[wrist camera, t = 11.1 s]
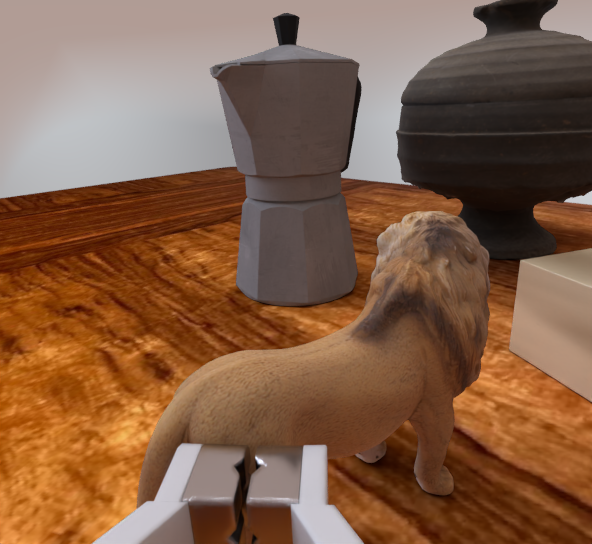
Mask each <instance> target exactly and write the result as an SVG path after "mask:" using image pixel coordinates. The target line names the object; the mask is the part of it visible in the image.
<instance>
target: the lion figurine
mask: <svg viewBox="0 0 592 544" xmlns="http://www.w3.org/2000/svg"><path fill="white" fill-rule="evenodd" d="M377 246H378V249H379V255H378V257H377V263H376V268H375V270H374V271H373V273H372V275H371V286H370V290H369V292H368V295H367V298H366V303H365V308H364V309H363V311H362V313H361V314H360V315H359V316H358V318H357V319H356V320H355V321H353V322H352V323H350V324H349V325H347V326H346V327H344V328H342V329H340V330H338V331H336V332H334V333H332V334H330V335H328V336H325V337H323V338H321V339H319V340H316V341H313V342H310V343H307V344H304V345H300V346H297V347H293V348H287V349H278V350H246V351H239V352H235V353H232V354H228V355H225V356H222V357H219V358H217V359H215V360H213V361H211V362H209V363H207V364H206V365H204V366H203V367H201V368H200V369H198V370H197V371H195V372H194V373H193V374H191V375H190V376H189V377H188V378H187V379H186V380H185V381H184V382H183V383H182V384H181V385H180V386H179V388H178V389H177V391H176V392H175V395H174V398H173V400H172V401H171V403H170V404H169V405H168V407H167V408H166V409H165V411H164V413H163V414H162V416H161V418H160V419H159V421H158V423H157V425H156V428H155V430H154V432H153V435H152V437H151V439H150V442H149V445H148V448H147V451H146V455H145V458H144V462H143V466H142V470H141V476H140V481H139V487H138V497H137V508H139V507H140V506H141V505H143V504H144V503H145V502H147V501H154V500H155V497H156V495H157V493H158V491H159V488H160V486H161V484H162V482H163V479H164V477H165V475H166V472H167V470H168V468H169V466H170V463H171V461H172V459H173V457H174V454H175V452H176V450H177V448H178V447H179V446H180V445H181V444H182V443H188V444H229V445H248V446H249V448H250V456H251V462H250V467H249V473H250V474H251V475H252V474H253V473H254V472H255V471H256V463H255V456H256V451H257V447H258V446H259V445H290V446H304V445H326V446H327V459H336V458H341V457H349V456H352V455H356V456H357V457H358V458H360V459H361V460H363V461H365V462H367V463H373V462H376V461H377V460H379V459H381V458H382V457H383V456H384V454H385V452H386V443H385V441H384V440H385V439H386V438H387V437H389V436H390V435H391V434H392V433H393V432H394V431H396V430H397V429H398V428H399V427H400V426H401V425H402V424H403V423H404V422H405V421H406V420H409V421H410V422H411V424H412V426H413V428H414V429H415V431H416V432H417V436H418V452H417V457H416V460H415V464H414V474H415V477H416V479H417V481H418V483H419V485H420V486H421V488H422V489H423V490H424V491H426V492H428V493H432V494H437V495H447V494H450V493H451V492H452V491H453V489H454V484H453V477H452V475H451V474H450V473H449V471H448V469H447V468H446V467H445V466H443V465H442V464H443V461H444V459H445V456H446V452H447V447H448V444H449V441H450V438H451V436H452V432H453V427H454V410H453V398H455V397H456V396H458V395H459V394H461V393H462V392H463V391H464V390H465V388H466V387H469V386H470V385H471V384H472V383H473V382H474V381H476V380H477V379H478V376H479V373H480V369H481V360H480V359H481V357H482V356H483V351H484V347H485V345H486V340H487V336H488V321H489V315H490V312H489V308H488V304H487V297H488V295H489V292H490V281H489V277H488V264H489V253H488V251H487V250H486V249H485V248H484V247H483V246H481V245H480V243H479V240H478V238H477V236H476V235H475V234H474V233H473V232H472V231H471V230H470V229H469V228H467V226H466V223H465V222H464V221H463V219H462V218H460V217H457V216H453V215H451V214H448V213H444V212H442V211H430V212H419V211H417V212H413V213H410V214H408V215H406V216H405V217H404V218H403V219H402V222H400V223H396V224H392V225H390V226H389V227H388V228H387V230H386V231H385V232H383V233H382V234H380V236H379V237H378V239H377ZM245 531H246V544H251V542H252V536H253V533H252V532H251V531H250V530H249V527H248V526H247V527H246V528H245Z"/></svg>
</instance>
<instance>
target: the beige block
mask: <svg viewBox="0 0 592 544" xmlns="http://www.w3.org/2000/svg"><path fill="white" fill-rule="evenodd" d="M509 350H510V351H512V352H513V353H515V354H516V355H518V356H520V357H521V358H523V359H524V360H526V361H527V362H529V363H531V364H532V365H534V366H535V367H537V368H539V369H540V370H542V371H543V372H545V373H546V374H548V375H550V376H551V377H553V378H554V379H556V380H557V381H559V382H561V383H562V384H564V385H565V386H567V387H568V388H570V389H572V390H573V391H575V392H576V393H578V394H579V395H581V396H583V397H584V398H586V399H587V400H589V401H591V402H592V248H590V249H584V250H578V251H572V252H566V253H560V254H554V255H548V256H542V257H536V258H531V259H525V260H521V261H520V267H519V275H518V283H517V291H516V299H515V307H514V314H513V322H512V330H511V338H510V346H509Z"/></svg>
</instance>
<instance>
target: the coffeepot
mask: <svg viewBox="0 0 592 544" xmlns="http://www.w3.org/2000/svg"><path fill="white" fill-rule="evenodd" d="M273 20H274V25H275V29H276V34H277V38H278V43H279V46H278V47H275V48H272V49H269V50H267V51H264V52H261V53H258V54H255V55H252V56H248V57H245V58H241V59H237V60H234V61H230V62H226V63H222V64H218V65H215V66H214V67H211V68H210V72H211V75H212V76H213V77H214V78H215V79H217V82H218V86H219V91H220V95H221V100H222V104H223V108H224V112H225V117H226V121H227V126H228V130H229V134H230V138H231V143H232V148H233V152H234V156H235V160H236V164H237V169H238V171H239V172H241V173H243V174H245V179H246V194H247V196H248V198H247V199H246V200H245V202H244V203H243V207H242V219H241V231H240V242H239V254H238V266H237V278H236V285H237V286H238V288H239V289H240V290H241V291H242V292H243V293H244V294H245V295H246V296H247V297H249V298H251V299H253V300H255V301H258V302H261V303H266V304H271V305H280V306H305V305H314V304H320V303H325V302H329V301H332V300H335V299H338V298H341V297H343V296H344V295H346V294H348V293H349V292H351V291H352V290H353V288H354V286H355V281H356V278H357V275H358V271H357V265H356V259H355V253H354V248H353V242H352V236H351V230H350V224H349V219H348V213H347V207H346V201H345V197H344V196H343V195H342V194H341V193H340V192H341V172H343V171H345V170H346V169H347V168H348V165H349V158H350V153H351V148H352V142H353V138H354V131H355V123H356V117H357V112H358V107H359V102H360V97H361V83H360V81H359V78H358V68H359V63H357V62H355V61H354V60H352V59H348V58H344V57H341V56H337V55H333V54H329V53H325V52H321V51H317V50H313V49H309V48H305V47H301V46H297V45H296V39H297V32H298V25H299V17H298V16H296V15H292V14H289V13H284V14H281V15H279V16H277V17H275V18H273Z"/></svg>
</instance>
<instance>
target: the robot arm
mask: <svg viewBox="0 0 592 544" xmlns="http://www.w3.org/2000/svg"><path fill="white" fill-rule="evenodd" d="M250 462H251V456H250V448H249V446H248V445H229V444H188V443H182V444H181V445H180V446H179V447H178V448H177V450H176V452H175V454H174V457H173V459H172V461H171V463H170V466H169V468H168V470H167V472H166V475H165V477H164V479H163V482H162V484H161V486H160V488H159V491H158V493H157V495H156V497H155V500H154V501H147V502H145V503H144V504H143V505H141V506H140V507H139V508H137V509H136V510H135V511H134V512H132V513H131V514H130V515H128V516H127V517H126V518H125V519H123V520H122V521H121V522H119V523H118V524H117V525H115V526H114V527H113V528H112V529H110V530H109V531H108V532H106V533H105V534H104V535H102V536H101V537H100V538H99V539H97V540H96V541H95V542H93V543H92V544H246V531H245V528H246V527H247V526H248V527H249V530H250V531H251V532H252V533H253V536H252V542H251V544H364V543H363V542H362V540H361V539H360V538H359V537H358V535H357V534H356V533H355V531H354V530H353V529H352V527H351V526H350V525H349V524H348V522H347V521H346V520H345V518H344V517H343V516H342V515H341V513H340V512H339V511H338V509H337V508H336V507H335V505H328V463H327V446H326V445H304V446H290V445H259V446H258V447H257V451H256V456H255V463H256V471H255V472H254V473H253V474H252V475H251V474H250V473H249V467H250Z"/></svg>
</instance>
